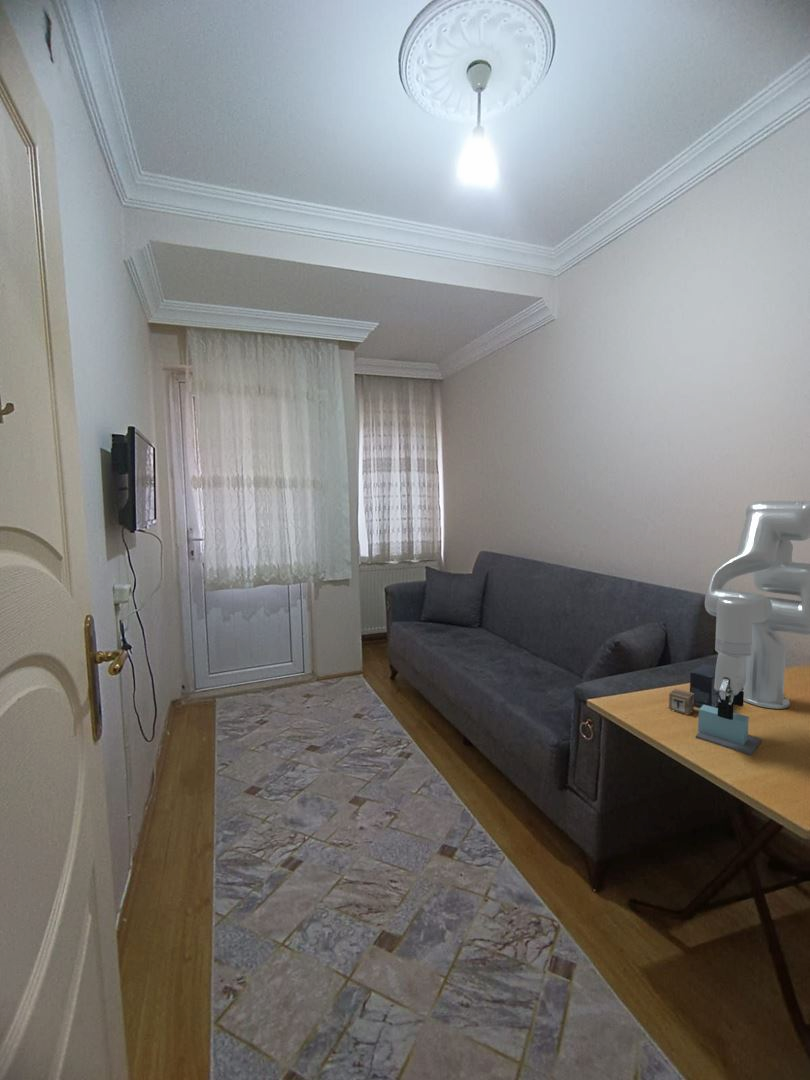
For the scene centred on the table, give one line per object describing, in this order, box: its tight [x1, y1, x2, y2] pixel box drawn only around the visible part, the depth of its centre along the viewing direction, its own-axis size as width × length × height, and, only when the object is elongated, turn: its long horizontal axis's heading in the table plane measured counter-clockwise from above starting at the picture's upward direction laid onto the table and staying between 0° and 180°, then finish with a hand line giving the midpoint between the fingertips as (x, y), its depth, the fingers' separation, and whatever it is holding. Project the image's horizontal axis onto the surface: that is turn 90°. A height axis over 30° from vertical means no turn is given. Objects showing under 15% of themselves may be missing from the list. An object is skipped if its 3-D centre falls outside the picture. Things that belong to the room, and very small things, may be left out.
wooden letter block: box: [668, 688, 695, 716], centre depth 139 cm, size 5×5×5 cm
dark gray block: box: [695, 731, 762, 756], centre depth 122 cm, size 10×12×1 cm
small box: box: [689, 663, 720, 709], centre depth 143 cm, size 11×6×10 cm, turn 126°
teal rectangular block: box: [697, 705, 750, 745], centre depth 123 cm, size 4×10×6 cm, turn 43°
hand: (730, 711), depth 122 cm, fingers open, 9 cm apart
